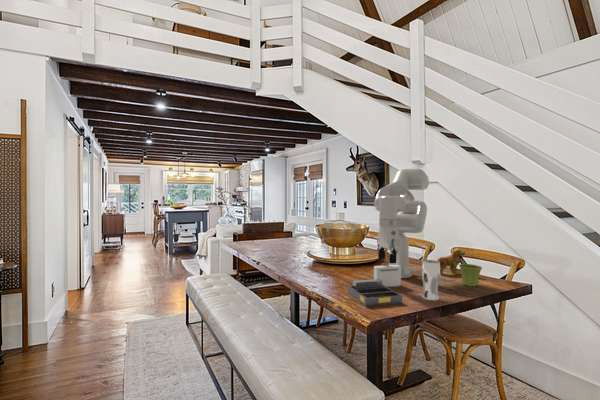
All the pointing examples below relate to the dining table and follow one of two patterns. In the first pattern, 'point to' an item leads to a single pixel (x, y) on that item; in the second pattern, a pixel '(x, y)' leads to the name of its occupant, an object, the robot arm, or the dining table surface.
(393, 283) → the panel
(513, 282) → the dining table surface
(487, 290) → the dining table surface
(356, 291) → the tray
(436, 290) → the beer glass
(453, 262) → the figurine
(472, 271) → the plant pot
